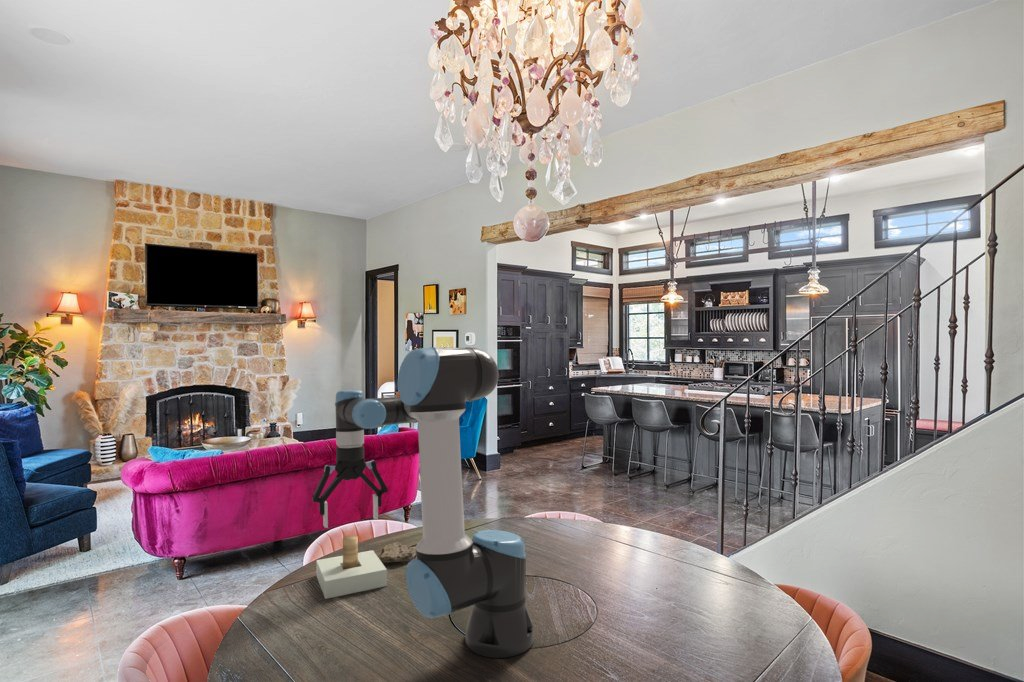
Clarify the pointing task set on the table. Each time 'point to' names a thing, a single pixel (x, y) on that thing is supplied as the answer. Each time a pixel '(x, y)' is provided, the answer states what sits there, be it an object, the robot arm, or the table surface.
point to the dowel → (350, 551)
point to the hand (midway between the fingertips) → (351, 522)
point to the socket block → (350, 575)
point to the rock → (397, 553)
